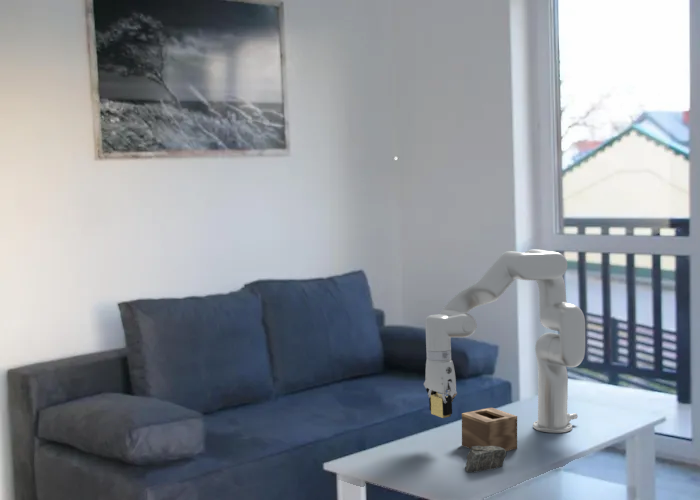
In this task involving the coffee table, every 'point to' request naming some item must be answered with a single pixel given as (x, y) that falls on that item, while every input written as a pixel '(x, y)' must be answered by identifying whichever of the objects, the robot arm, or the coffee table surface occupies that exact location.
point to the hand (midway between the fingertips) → (440, 411)
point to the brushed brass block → (437, 405)
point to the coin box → (489, 429)
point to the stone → (485, 458)
